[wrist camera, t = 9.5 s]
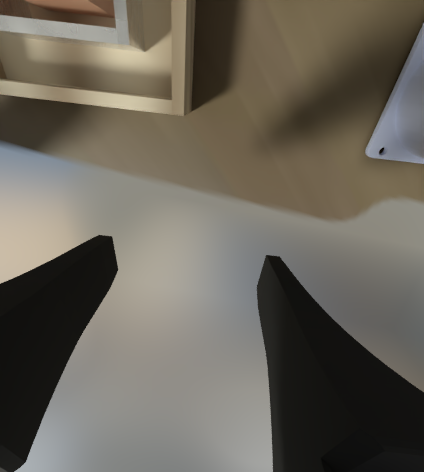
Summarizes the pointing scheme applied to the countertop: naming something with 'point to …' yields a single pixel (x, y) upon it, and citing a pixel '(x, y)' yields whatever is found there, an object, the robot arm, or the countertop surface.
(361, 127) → the countertop surface
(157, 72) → the walled box
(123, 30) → the frame
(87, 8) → the tan-topped block
